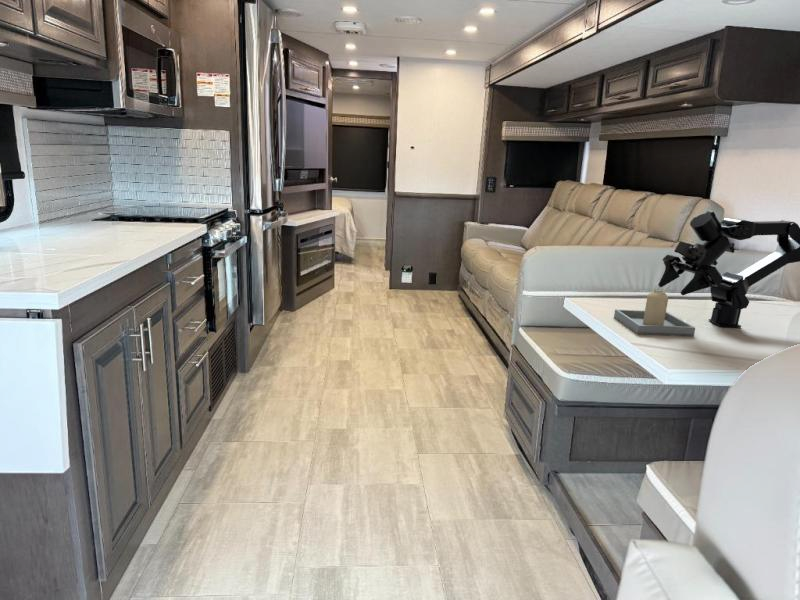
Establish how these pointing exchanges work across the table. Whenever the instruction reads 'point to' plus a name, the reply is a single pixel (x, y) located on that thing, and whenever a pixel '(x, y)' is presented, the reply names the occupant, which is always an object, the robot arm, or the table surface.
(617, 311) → the tray
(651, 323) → the candle
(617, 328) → the table surface
